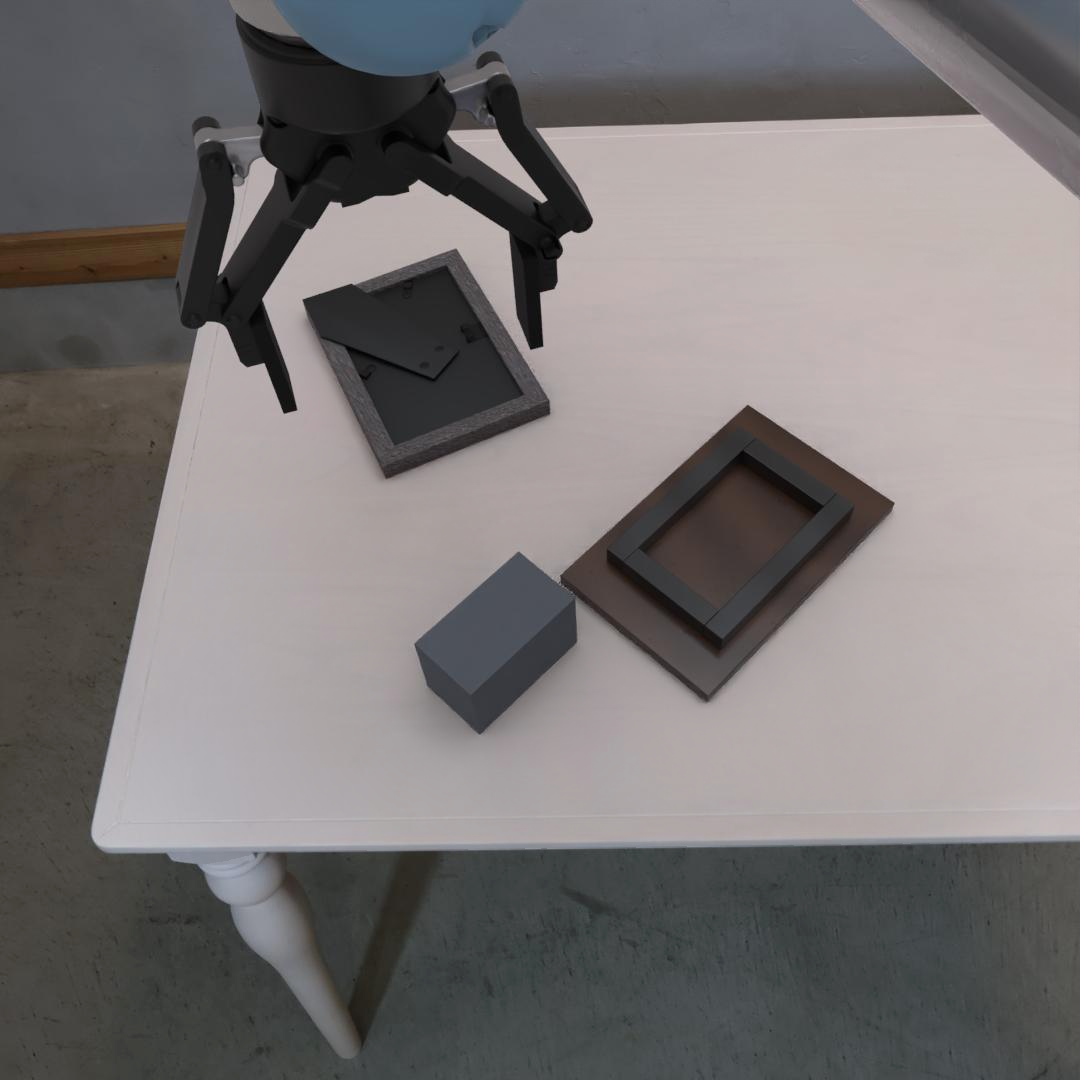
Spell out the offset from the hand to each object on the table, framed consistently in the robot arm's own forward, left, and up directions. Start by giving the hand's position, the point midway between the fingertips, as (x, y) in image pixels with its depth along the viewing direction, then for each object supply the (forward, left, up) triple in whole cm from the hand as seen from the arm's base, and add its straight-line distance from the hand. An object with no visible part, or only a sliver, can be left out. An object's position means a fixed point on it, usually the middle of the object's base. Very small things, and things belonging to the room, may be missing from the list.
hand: (409, 362), depth 61 cm
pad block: (-8, +3, -21) cm, 22 cm away
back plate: (-13, -14, -21) cm, 28 cm away
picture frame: (+15, -11, -21) cm, 28 cm away
